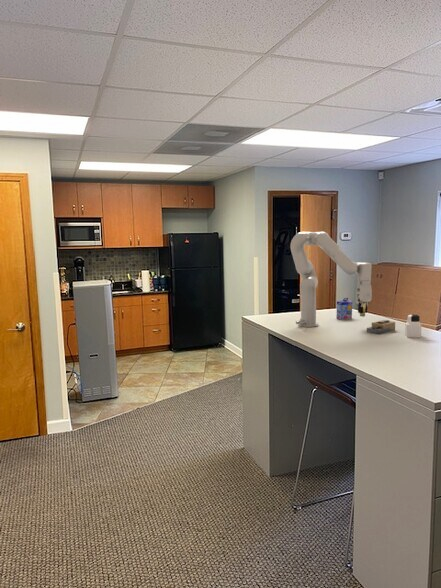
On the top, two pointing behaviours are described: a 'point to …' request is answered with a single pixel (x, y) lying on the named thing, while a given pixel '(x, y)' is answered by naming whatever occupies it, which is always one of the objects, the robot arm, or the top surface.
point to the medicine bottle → (413, 326)
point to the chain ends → (381, 327)
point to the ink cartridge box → (344, 309)
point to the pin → (363, 310)
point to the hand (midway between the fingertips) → (362, 312)
